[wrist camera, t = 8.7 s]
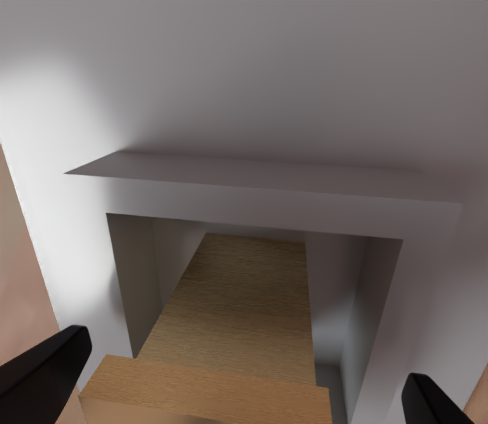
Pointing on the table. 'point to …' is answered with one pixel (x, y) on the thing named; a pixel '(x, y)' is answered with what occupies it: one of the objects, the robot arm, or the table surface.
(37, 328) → the table surface
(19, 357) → the robot arm
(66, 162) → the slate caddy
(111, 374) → the wooden lipped block
